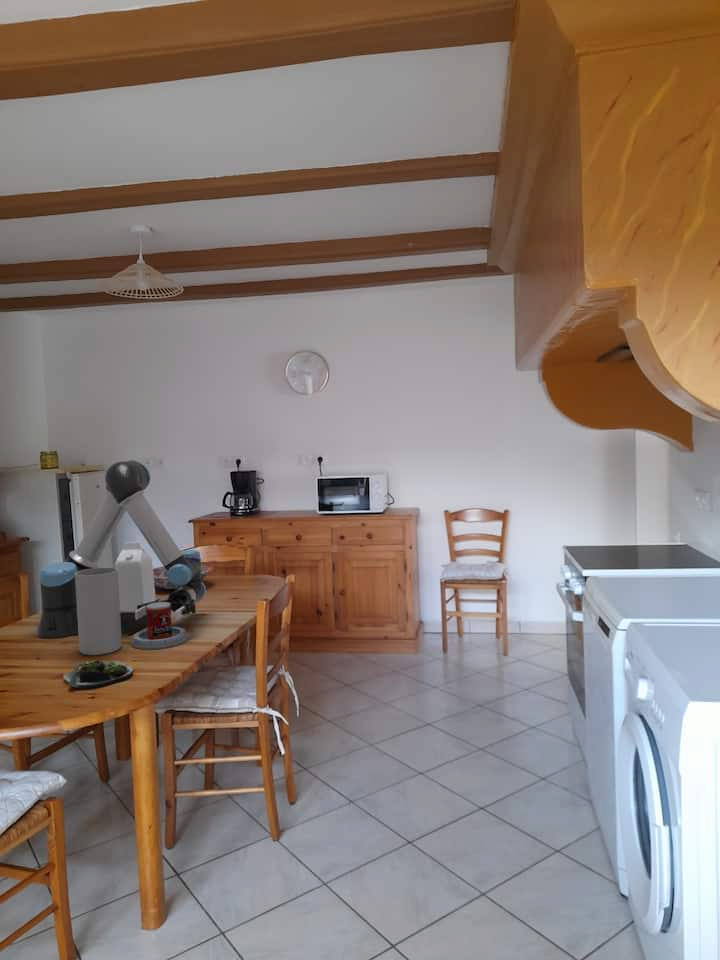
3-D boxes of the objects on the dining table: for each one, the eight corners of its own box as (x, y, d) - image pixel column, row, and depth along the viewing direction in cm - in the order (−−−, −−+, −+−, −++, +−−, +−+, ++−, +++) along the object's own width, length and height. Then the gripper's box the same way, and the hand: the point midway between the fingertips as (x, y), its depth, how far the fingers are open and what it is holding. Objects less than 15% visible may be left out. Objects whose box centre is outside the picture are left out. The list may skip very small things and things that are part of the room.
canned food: (153, 643, 212) (151, 609, 211) (143, 637, 218) (142, 604, 218) (176, 638, 217) (174, 604, 216) (166, 633, 223) (164, 600, 222)
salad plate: (49, 677, 187) (48, 661, 187) (112, 662, 199) (111, 646, 199) (74, 696, 173) (73, 678, 172) (140, 677, 185) (139, 661, 185)
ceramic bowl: (158, 599, 277) (157, 580, 277) (135, 587, 301) (134, 570, 300) (223, 588, 295) (222, 570, 294) (196, 578, 318) (196, 561, 318)
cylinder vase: (128, 643, 216) (123, 567, 215) (112, 655, 204) (108, 574, 202) (89, 644, 217) (85, 568, 215) (72, 656, 204) (67, 576, 203)
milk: (156, 603, 269) (153, 540, 268) (144, 611, 258) (140, 544, 256) (127, 604, 270) (124, 540, 269) (114, 611, 259) (111, 545, 257)
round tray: (146, 653, 205) (146, 645, 205) (121, 642, 218) (121, 634, 218) (198, 640, 217) (198, 632, 217) (172, 629, 230) (171, 622, 230)
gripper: (216, 609, 235) (194, 627, 214) (148, 609, 238) (120, 626, 217) (215, 588, 234) (193, 603, 213) (147, 589, 237) (119, 604, 216)
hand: (156, 615), depth 215 cm, fingers open, 13 cm apart
